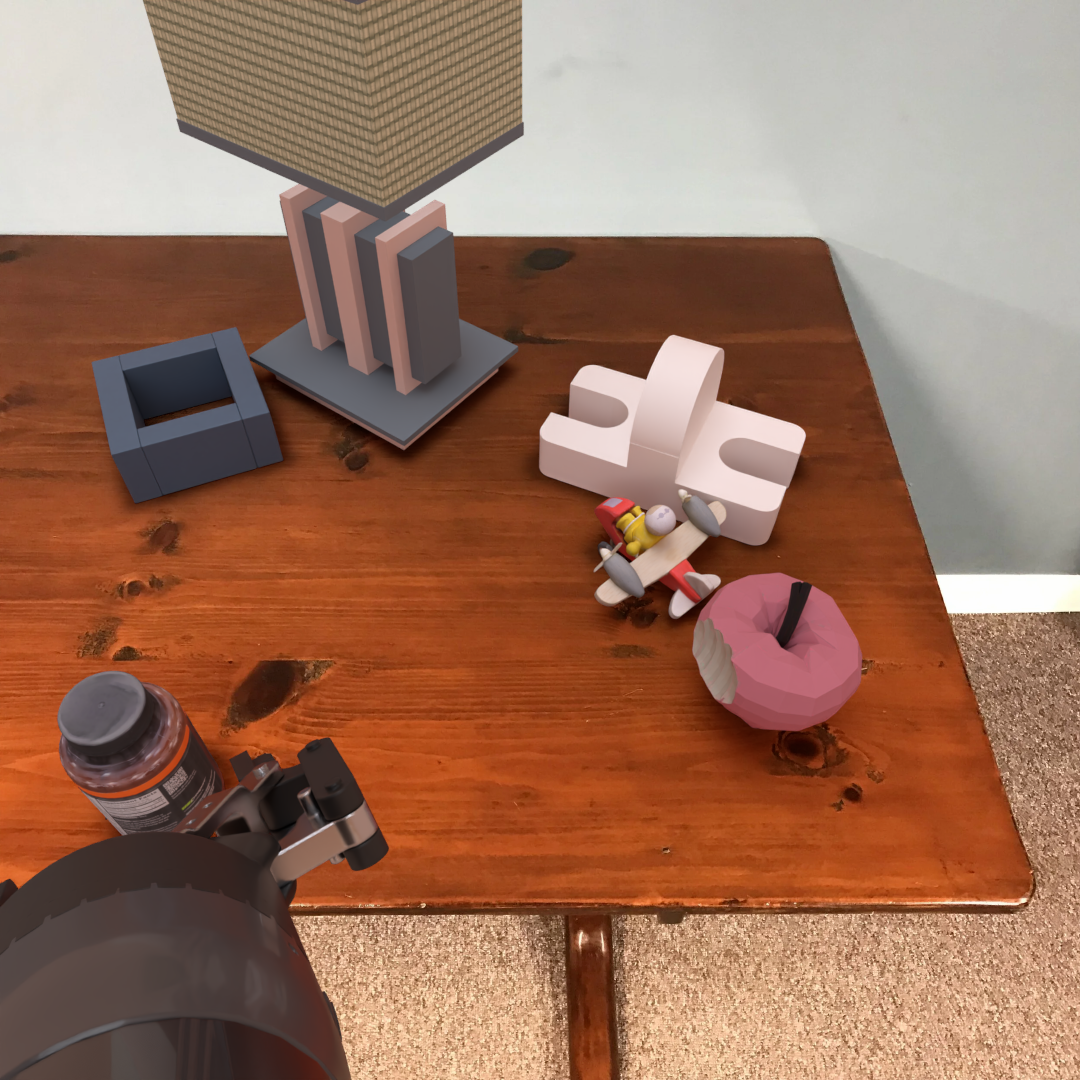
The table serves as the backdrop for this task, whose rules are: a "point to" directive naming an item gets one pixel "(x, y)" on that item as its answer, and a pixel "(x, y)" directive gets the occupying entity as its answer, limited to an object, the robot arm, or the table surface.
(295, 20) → the desk lamp
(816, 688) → the apple
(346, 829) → the robot arm
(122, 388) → the stand
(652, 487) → the slotted arch bracket
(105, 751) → the supplement bottle
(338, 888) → the table surface
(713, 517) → the toy airplane
